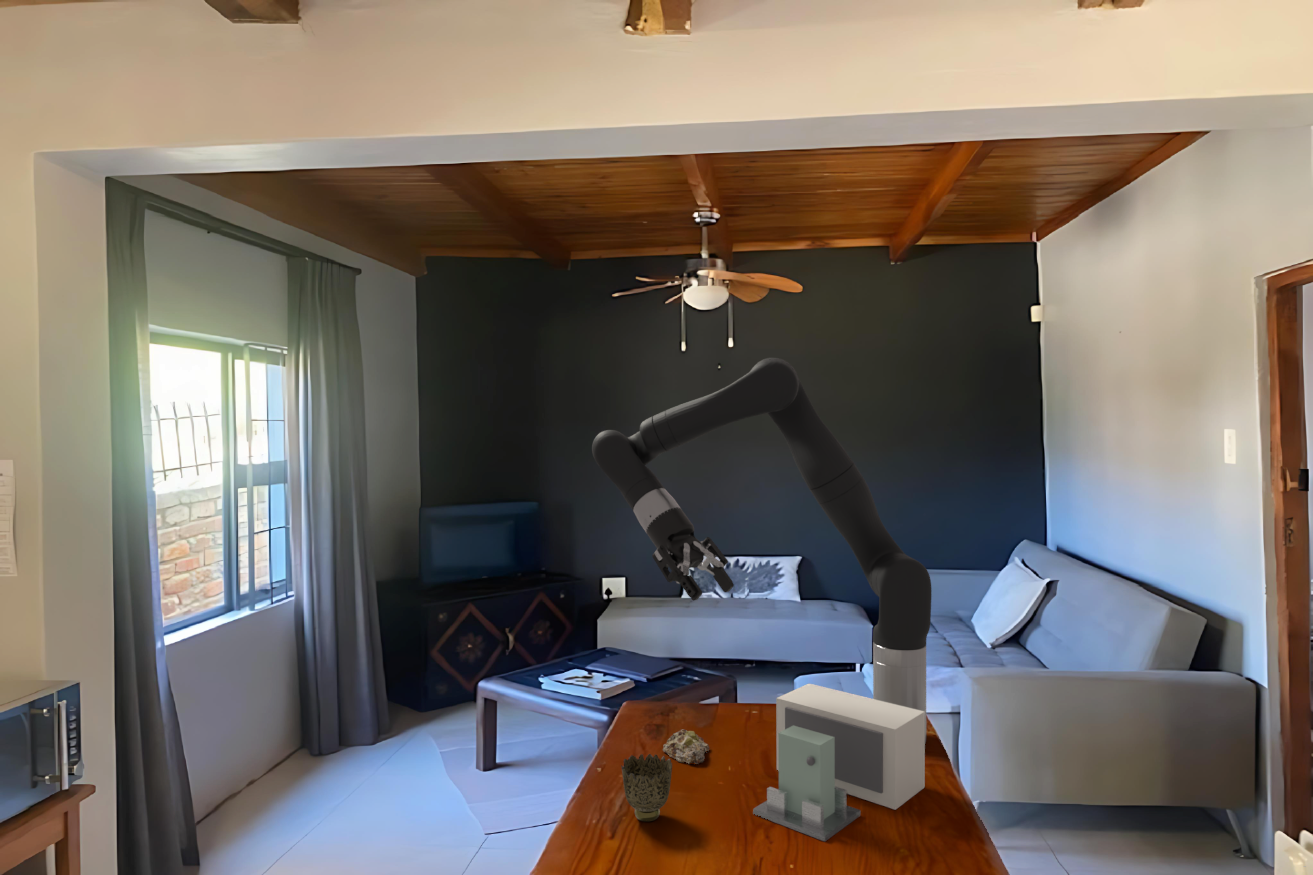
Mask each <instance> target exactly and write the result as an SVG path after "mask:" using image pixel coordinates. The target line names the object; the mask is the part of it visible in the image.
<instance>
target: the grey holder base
mask: <svg viewBox="0 0 1313 875" xmlns="http://www.w3.org/2000/svg"><path fill="white" fill-rule="evenodd" d="M847 795H848V794H847V790H845V789H842V788H839V787H836V786H835V812H834V813H833V814H831V815H830V816H828V817H827V818H825V819H824V805H821V804H818V803H815V802H813V801H810V800H807V799H804V800H803V801H802V815H800V814H797V813H794V812H791V811H789V810H787V792H784V791H781V790H779V788H775V787H773V786H769V787H767V788H766V799H767V800H765V801H763V802H762V803H760V804H759V805H757V806H755V807H754V808H753V809H752V810H753V811H752V814H753V815H754V814H755V815H754V816H757V815H758V816H757V817H759V816H761V817H760V818H761V819H764V818H765V819H764V820H767V819H768V821H771V822H772V823H775V824H778V825H780V826H783V827H785V828H788V829H791V830H793V831H796V832H799V833H801V834H803V835H806V836H809V837H811V838H814V839H817V840H819V841H822V842H827V840H829V839H830V838H832V837H833V836H835V835H836V834H838V833H839V832H840V831H842V830H843V829H844V828H846V827H847V826H848V825H850V824H851V823H852V822H854V821H855V820H856V819H858V818H859V817H861V809H858V808H855V807H853V806H849V805H847Z"/></svg>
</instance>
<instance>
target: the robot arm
mask: <svg viewBox="0 0 1313 875" xmlns="http://www.w3.org/2000/svg"><path fill="white" fill-rule="evenodd" d="M798 375H799V374H798V372H797V371H796V369H795V368H794V366H793V365H792V364H791V363H790V362H788V361H787V360H785V359H782V358H778V357H767V358H764V359H761V360H760V361H757V363H755V365H754V366H753V367H752V368H751V369H750V371H749V372H747V373H746V374H744V375H743V376H741V377H740V378H738V379H737V380H735V381H734V382H732V383H730V384H729V385H727V386H725V387H723V388H721V389H718V390H717V391H715V392H712V393H710V394H707V395H705V396H701V397H698V398H696V399H692V400H689V401H687V402H684V403H681V404H678V405H676V406H673V407H671V408H668V409H665V410H663V411H661V412H659V413H657V414H655V415H652V416H651V417H648V418H646V419H645V420H643V421H642V422H641V423H640V425H639V431H637V432H636V433H634V434H633V435H630V436H626V435H625V434H623V433H621V432H620V431H618V430H615V429H607V430H602V431H601V432H599V433H598V434H597V435H596V436H595V438H594V439H593V441H592V445H591V452H592V456H593V458H594V461H595V463H596V465H598V467H599V468H600V469H601V471H602V472H603V473H604V474H605V476H607V478H608V479H610V482H612V484H614V485H615V487H616V488H617V489H618V490H619V492H620V493H621V495H622V496H623V498H624V500H625V501H626V503H627V504H628V505H629V507H630V508H631V510H632V512H633V513H634V515H635V517H636V519H637V521H638V522H639V524H640V526H641V527H642V529H643V530H644V532H645V533H646V535H647V536H648V538H649V540H650V541H651V542H652V544H653V545H654V546H655V548H656V550H655V551H654V553H653V554H652V559H653V560H654V562H655V564H656V565H657V566H658V569H659V570H660V571H661V573H662V575H663V576H664V578H665V580H666V581H667V582H669V583H673V581H674V582H676V584H678V585H681V588H682V589H683V590H684V591H685V593H686V594H687V596H688V597H689V598H690V599H691V600H692V601H698V600H699V599H700V597H702V595H703V590H702V589H701V588H700V586H699V584H698V583H697V582H696V581H695V579H694V577H693V576H692V575H691V574H690V569H691V568H693V569H694V568H697V569H699V570H700V571H706V572H707V573H709V574H710V575H711V576H713V578H714V581H716V583H717V585H718V586H719V587H720V588H721V590H722V591H723V592H724V593H729V592H730V591H731V590H732V588H734V585H735V584H734V582H733V580H732V578H731V577H730V576H729V574H728V573H727V572H726V570H725V569H724V568H725V566H727V564H728V563H729V561H728V559H727V558H726V556H725V555H724V554H723V552H722V551H721V550H720V548H719V547H718V546H717V545H716V543H715V542H714V541H713V539H712V538H710V537H709V536H706V537H705V539H704V540H701V541H700V540H699V539H698V538H697V537H696V536H695V527H694V524H693V523H692V522H691V520H690V519H689V518H688V516H687V515H686V513H685V512H684V511H683V509H682V508H681V506H680V505H679V504H678V502H677V500H676V499H675V498H674V497H673V496H672V495H671V494H670V493H669V492H668V490H666V488H665V486H664V485H663V483H661V481H660V480H659V479H658V477H657V476H656V475H655V473H654V472H653V471H652V470H651V469H650V468H649V467H648V466H646V465H648V464H649V463H651V462H652V461H653V460H655V459H656V458H658V456H660V455H661V454H664V453H667V452H669V451H671V450H673V449H676V448H679V447H680V446H681V447H682V446H684V445H685V444H687V443H690V442H692V441H694V440H697V439H698V438H701V437H702V436H704V435H708V434H709V433H712V432H714V431H716V430H718V429H720V428H722V427H725V426H727V425H730V424H733V423H736V422H739V421H742V420H745V419H749V418H752V417H756V416H760V415H765V414H767V415H768V416H769V418H771V420H772V422H773V423H774V424H775V425H776V427H777V428H778V429H779V431H780V433H781V434H782V436H783V438H784V440H785V441H786V445H788V448H789V451H790V453H791V454H792V458H793V460H794V462H795V465H796V467H797V469H798V471H799V473H800V474H801V475H800V476H801V477H802V479H803V480H804V482H805V485H806V486H807V488H808V489H809V491H810V492H811V494H812V496H813V497H814V499H815V500H816V502H817V504H818V505H819V506H820V507H821V509H822V510H823V512H824V514H826V517H828V519H829V520H830V522H831V523H832V524H833V526H834V527H835V529H836V530H837V531H838V532H839V534H840V535H842V537H843V538H844V540H845V541H846V542H847V544H848V545H849V547H850V549H851V550H852V553H853V554H854V556H855V558H856V560H857V562H858V563H859V565H860V568H861V569H862V572H863V574H864V576H865V578H866V580H867V582H868V584H869V586H870V588H871V590H872V591H873V592H874V594H875V595H876V596H877V597H878V598H879V602H878V604H879V606H878V620H877V624H876V625H874V627H873V631H872V641H873V642H872V648H873V652H872V655H873V656H872V659H873V660H872V661H873V662H872V663H873V664H872V668H873V672H872V678H873V679H872V680H873V681H872V683H873V684H872V687H873V688H872V689H873V690H872V694H873V695H872V699H875V700H879V701H884V702H888V703H892V704H896V705H900V706H904V707H908V708H912V709H916V710H921V711H925V743H926V742H927V639H928V634H929V631H930V628H931V618H932V581H931V576H930V573H929V571H928V569H927V568H926V566H925V565H924V564H922V562H920V561H918V560H916V559H915V558H913V557H910V556H909V555H907V554H906V553H905V552H904V551H903V550H902V549H901V548H900V546H899V545H898V544H897V542H896V541H895V540H894V539H893V537H892V536H891V534H890V533H889V532H888V530H887V528H886V527H885V525H884V524H883V521H882V520H881V517H880V515H879V512H878V509H877V506H876V504H875V500H874V497H873V495H872V492H871V490H870V488H869V485H868V483H867V482H866V480H865V478H864V477H863V475H862V474H861V473H862V472H860V471H859V468H858V467H857V466H856V464H855V463H854V461H853V460H852V458H851V457H850V455H849V454H848V452H847V451H846V450H845V448H844V447H843V445H842V444H841V442H839V440H838V439H837V438H836V436H835V435H834V434H833V432H832V431H831V430H830V429H829V427H828V426H827V425H826V424H825V423H824V422H823V420H822V419H821V417H820V416H819V414H818V413H817V411H816V409H815V407H814V406H813V404H812V402H811V400H810V398H809V397H808V396H809V395H807V393H806V391H805V389H804V386H803V384H802V381H801V380H800V377H799V376H798ZM716 557H717V558H718V559H717V558H716ZM704 558H705V559H704ZM710 564H711V565H712V566H711V565H710ZM669 569H670V570H671V571H669ZM689 574H690V575H689Z"/></svg>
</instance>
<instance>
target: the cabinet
mask: <svg viewBox="0 0 1313 875" xmlns="http://www.w3.org/2000/svg"><path fill="white" fill-rule="evenodd" d="M775 702H776V704H775V705H776V708H775V709H776V713H775V714H776V722H775V723H776V725H775V726H776V731H775V732H776V734H775V736H776V737H775V738H776V771H777V770H778V771H777V772H779V732H781V731H783V730H785V729H787V728H789V727H791V726H793V725H794V726H797V727H801V728H804V729H808V730H811V731H815V732H818V733H822V734H825V735H829V736H832V737H835V786H836V787H839V788H842V789H845V790H847V795H849V796H852V797H856V798H858V799H862V800H864V801H865V800H866V801H868V802H871V803H873V804H876V805H880V806H884V807H886V808H888V809H892V810H897V809H898V808H900V807H901V806H903V805H904V804H905V803H906V802H907V801H909V800H910V799H912V798H913V797H915V795H917V794H919V792H921V791H922V790H923V789H924V788H925V783H926V780H925V778H926V777H925V774H926V772H925V771H926V770H925V767H926V766H925V763H926V762H925V761H926V760H925V758H926V757H925V756H926V753H925V749H926V745H925V744H926V742H925V711H921V710H916V709H912V708H908V707H904V706H900V705H896V704H892V703H888V702H884V701H879V700H875V699H873V698H870V697H866V696H862V695H859V694H853V693H850V692H846V691H842V690H837V689H834V688H830V687H825V686H822V685H817V684H813V683H807V684H805V685H802V686H799V687H798V688H796V689H794V690H791V691H789V692H787V693H784V694H782V695H780V696H778V697H776V700H775Z"/></svg>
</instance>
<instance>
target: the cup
mask: <svg viewBox="0 0 1313 875" xmlns="http://www.w3.org/2000/svg"><path fill="white" fill-rule="evenodd" d="M620 766H621V773H622V781H623V790H624V794H625V798H626V801H627V803H628V804H629V806H630V807H631V808H633V809H634V815H635V818H636V819H637V820H639V821H641V822H653V821H655V820H658V818H659V816H660V813H661V811H660V809H661V808H662V807H664V806H665V805H666V803H667V801H668V798H669V794H670V790H671V782H672V781H671V780H672V772H673V763H672V761H671V758H668V759H666V757H665V755H663V756H662V757H661V759H660V758H659V756H658V755H657V754H654V755H652V754H651V753H649V754H648V755H647V756H646V757H645V758H644V754H642V753H641V754H640V755H639V757H638V758H637V757H636V756H635V755H632V754H631V755H630V756H629V757H628V759H627V758H624V759H623V765H620Z"/></svg>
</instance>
